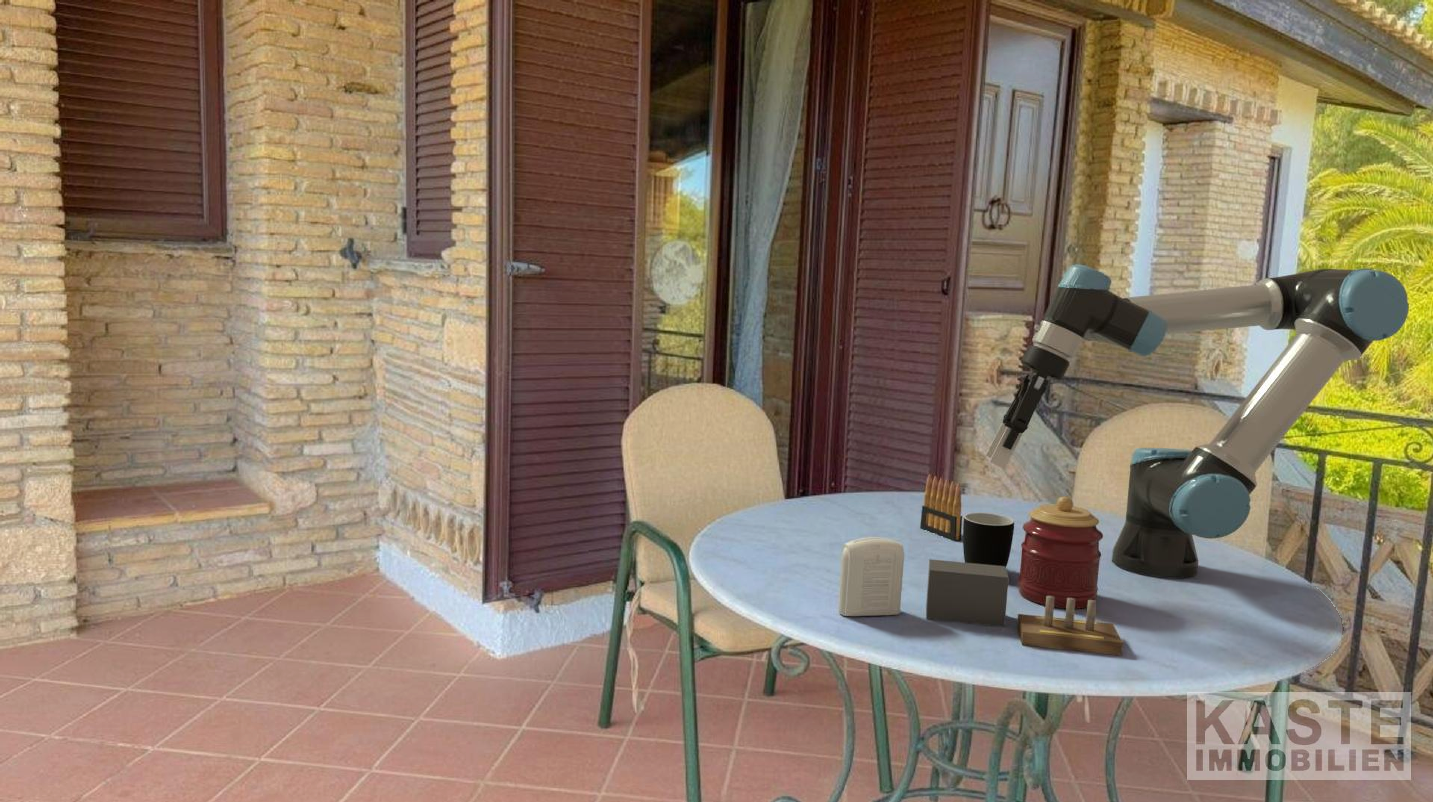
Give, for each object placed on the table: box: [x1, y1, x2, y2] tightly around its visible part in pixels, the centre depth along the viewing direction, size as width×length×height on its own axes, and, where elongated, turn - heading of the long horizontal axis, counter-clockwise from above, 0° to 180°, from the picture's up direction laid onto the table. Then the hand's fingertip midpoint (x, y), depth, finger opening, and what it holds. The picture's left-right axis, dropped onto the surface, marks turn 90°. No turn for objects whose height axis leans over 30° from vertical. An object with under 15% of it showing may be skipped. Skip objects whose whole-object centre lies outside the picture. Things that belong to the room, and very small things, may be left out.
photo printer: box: [837, 536, 905, 617], centre depth 159 cm, size 10×4×12 cm, turn 103°
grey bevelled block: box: [925, 558, 1010, 628], centre depth 159 cm, size 12×6×8 cm, turn 78°
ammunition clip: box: [919, 473, 963, 542], centre depth 208 cm, size 11×2×12 cm, turn 29°
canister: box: [1017, 496, 1104, 609], centre depth 170 cm, size 13×13×18 cm
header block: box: [1017, 596, 1124, 656], centre depth 151 cm, size 14×8×6 cm, turn 78°
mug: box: [962, 512, 1015, 567], centre depth 185 cm, size 12×9×10 cm
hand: (994, 462), depth 174 cm, fingers open, 13 cm apart
